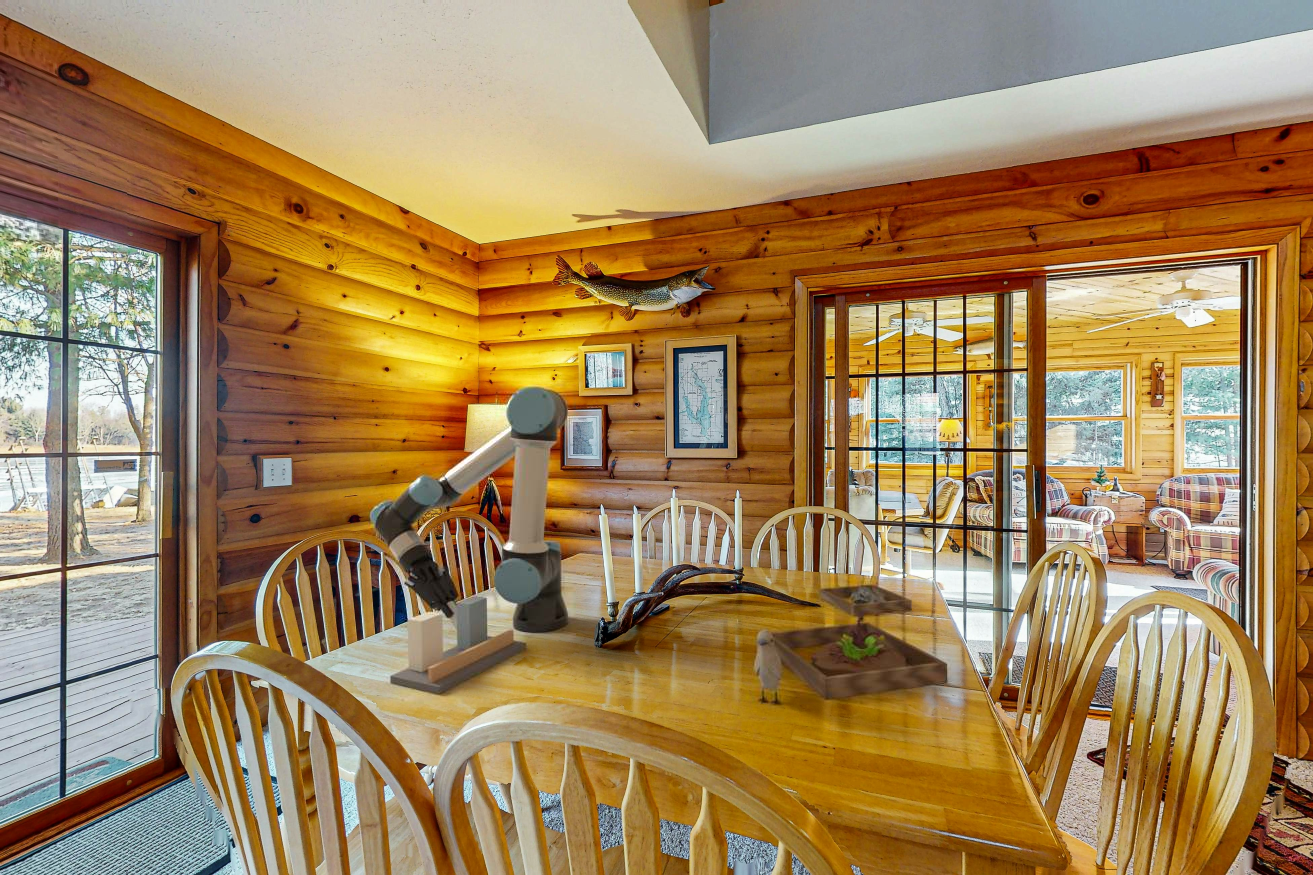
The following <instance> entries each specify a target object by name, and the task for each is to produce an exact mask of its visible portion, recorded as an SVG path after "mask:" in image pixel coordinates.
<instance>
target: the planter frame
mask: <svg viewBox="0 0 1313 875" xmlns="http://www.w3.org/2000/svg"><path fill="white" fill-rule="evenodd" d="M856 629H857V622H856V623H849V624H848V623H847V624H839V625H837V624H836V625H828V626H819V627H811V628H810V627H809V628H808V627H807V628H799V629H789V630H781V631H772V632H771V631H769V632H770V633H771V634H772V636H773V642H774V647H775V649H776V651H777V653H778V655H779V658H780V660H781V665H782V666H784V667H786V668H787V669H788V670H789V671H790V672H791V673H793V675H795V676H797V678H798V679H800V680H801V681H803V683H805V684H806V685H807V686H808V687H810V689H811V690H813V691H815V692H816V693H817V694H818V695H819V696H820V697H821V698H822V699H824V700H827V701H828V700H835V699H839V698H840V699H841V698H848V697H853V696H854V697H855V696H861V695H863V696H864V695H869V694H877V693H884V692H891V691H897V690H904V689H910V688H911V689H912V688H922V687H926V686H933V685H941V684H947V683H948V662H945V661H943V660H942V659H940V658H938V657H935V656H933V655H932V654H930V653H928V652H926V651H924V650H922V649H920V648H918V647H916V646H914V645H912V644H910V643H909V642H906V641H905V640H902V639H901V638H900V637H897V636H895V635H894V634H892V633H889V632H887V631H885V630H883V629H881V628H880V627H877V626H876V625H874V624H871V623H870V622H867V621H864V622H861V632H862V636H864V635H866V634H867V633H869V632H872V631H873V632H878V633H881V634H882V635H883V636H884V641H879V640H878V636H877V635H876V634H873V635H870V636H873V638H874V639H876V641H875V643H874V645H876V646H878V645H884V646H883V647H887V648H891V649H893V650H895V651H897V652H899V653H901V654H904V655H905V656H906V659H907V664H908V665H909V666H908V665H907V666H906V667H898V668H891V669H883V670H875V671H867V672H859V673H852V674H844V675H836V676H828V677H827V676H826V675H824V674H823V673H822V672H820V671H819V670H818V669H816V668H815V667H814V666H813V665H812V663H809V662H808V661H807V660H806V659H804V658H803V657H802V656H801V655H799V654H798V653H797V652H795V651H794V650H792V649H795V648H796V649H797V648H798V649H799V648H806V647H814V646H822V645H823V646H824V645H826V644H828V643H833V642H837V641H842V640H841V638H843V639H844V637H843V635H844V634H847V633H848V632H849V631H850V630H855V632H856ZM850 634H851V635H850V637H852V638H853V633H850Z"/></svg>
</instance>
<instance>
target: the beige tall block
mask: <svg viewBox="0 0 1313 875" xmlns="http://www.w3.org/2000/svg"><path fill="white" fill-rule="evenodd" d="M443 625H444V624H443V613H440V612H434V611H427V612H425V613H422V614H419V615H416V616H413V617H409V618H408V619H407V636H408V637H407V640H408V641H407V643H408V644H407V645H408V646H407V647H408V649H407V650H408V651H407V652H408V668H409V670H414V671H419V672H424V671H426V670H428V667H430V666H433V665H435V664H437V663H439V662H441V661H443V652H444V637H443V636H444V635H443V632H444V631H443V630H444V628H443Z"/></svg>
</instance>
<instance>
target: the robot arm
mask: <svg viewBox="0 0 1313 875" xmlns="http://www.w3.org/2000/svg"><path fill="white" fill-rule="evenodd" d="M505 414H506V419H507V422H508V424H509V425H508V426H507V427H506V428H504V429H503V430H502V431H500V432H499V433H498V434H497V435H495V436H493V437H492V438H491V439H490V440H488V441H487V442H486V443H484V444H483V445H482V446H480V447H479V448H478V449H476V450H475V451H473V452H472V453H471V454H469V455H468V456H467V457H465V458H464V459H462V460H461V461H460V462H458V464H456V465H455V466H453V467H452V468H451V469H450V470H447V472H446V473H444V474H442V475H441V477H439V478H438V479H434V478H433V477H431V476H428V475H425V474H424V475H423V474H422V475H421V476H418V478H417V479H416V480H414V481H413V482H411V484H409V486H408V487H407V488H406V490H404V492H402V494H401V495H400V496H399V497H397V499H396V500H395V501H394V500H385V501H383V502H381V503H379V504H378V505H376V506H375V507H374V508H372V510H371V512H370V515H369V519H370V522H371V523H372V525H373V526H374V529H375V531H376V532H377V533H378V534H379V535H380V536H381V538H382V539H383V541H384V543H385V544H386V545H387V547H388V548H389V550H390V551H391V553H392V555H393V556H394V558H395V559H396V560H397V561H398V564H399V565H400V566H401V568H402V570H403V571H404V572H405V573H406V574H407V575H408V577H407V578H406V580H405V581H404V583H403V584H404V585H405V586H407V587H408V588H410V589H411V590H413V592H414V593H415V594H417V595H418V596H419V597H420V598H421V600H423V602H425V603H426V604H427V606H428V607H429V608H430V609H431V610H435V609H436V611H437V612H442V614H444V617H445V618H447V619H449V620H450V622H451V624H452V625H453V627H455V629H456V630H457V602H456V600H457V598H458V597H459V593H458V592H459V591H457V587H456V585H455V583H454V581H453V579H452V576H451V575H450V574H451V573H450V568H449V566H448V565H445V566H444V567H442V566H439V564H438V563H437V562H435V561H434V560H433V554H432V552H431V550H430V548H428V546H427V545H426V544H425V542H424V540H423V539H422V538H421V537H420V535H419V534H418V532H417V530H416V529H415V528H414V526H413V525H414V524H415V523H416V522H417V521H418V520H419V519H420V518H421V517H423V515H425V513H427V512H429V511H433V510H435V509H441V508H445V507H450V506H452V505H453V504H455V503H457V502H458V501H459V499H460V498H461V496H462V495H463V494H465V493H466V492H467V491H469V490H471V488H473V487H474V486H475V485H477V484H479V483H480V482H481V481H483V480H484V479H485V478H486V477H488V476H489V475H491V474H492V473H493V472H495V471H496V470H497V469H499V468H500V467H502V466H503V465H504V464H506V463H507V462H509V461H510V460H511V459H513V458H514V465H513V466H514V468H513V481H512V482H513V483H512V497H511V507H510V508H511V509H510V521H509V522H510V524H509V534H508V535H509V536H508V540H507V541H506V542H505V543H504V544H502V548H501V557H500V558H501V560H500V564H499V565H498V566H497V567H496V569H495V571H494V574H493V586H494V588H495V591H496V592H497V593H498V594H499V595H500V597H501V598H502V599H503V600H505V601H506V602H508V603H511V604H516V606H515V609H514V613H513V617H512V627H513V628H514V629H515V630H517V631H522V632H528V633H529V632H530V633H537V632H539V633H540V632H541V633H542V632H548V631H553V630H558V629H560V628H563V627H565V626H566V625H567V624H568V623H569V612H568V609H567V606H566V603H565V600H564V598H563V595H562V549H561V548H562V547H561V543H560V542H559V541H556V540H544V535H545V523H546V510H547V509H546V508H547V498H548V497H547V496H548V495H547V494H548V482H549V481H548V480H549V470H550V457H551V448H552V447H553V446H554V445H555V444H556V443H557V442H558V432H559V430H560V429H561V428H562V427H564V425H565V423H566V421H567V418H568V415H569V412H568V404H567V402H566V400H565V398H564V397H563V396H562V395H561V394H559V393H558V392H557V391H554V390H551V389H547V388H544V387H539V386H526V387H523V388H519V390H517V391H516V392H515V393H513V394H512V395H511V397H510V398H509V400H508V402H507V405H506V409H505Z"/></svg>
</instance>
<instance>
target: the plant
mask: <svg viewBox="0 0 1313 875" xmlns="http://www.w3.org/2000/svg"><path fill="white" fill-rule="evenodd" d="M864 616H865V615H859V616H857V622H856V623H857V629H856V632H855V630H850V631H849V632H848V633H847V634H844V635H843V637H844V639H843V638H841V640H842V641H837V642H833V643H828V644H824V645H823V646H822V648H821V649H820V650H816V651H814V652H813V654H812V655H811V665H812V666H814V667H815V668H816V669H818V670H819V671H820V672H822V673H823V674H824V675H826V676H827V677H828V676H836V675H844V674H852V673H859V672H867V671H875V670H883V669H891V668H898V667H906V666H908V665H907V664H908V663H907V659H906V656H905V655H904V654H901V653H899V652H897V651H895V650H893V649H891V648H887V647H883V646H884V645H878V646H877V645H875V644H874V643H875V641H876V639H874V638H873V636H870V635H873V634H876V635H877V636H878V640H879V641H884V636H883V635H882V634H881V633H878V632H873V631H872V632H869V633H867V634H866V635H864V636H862V632H861V623H865V620H866V619H865V617H864ZM850 633H853V638H852V637H850V635H851V634H850Z"/></svg>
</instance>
